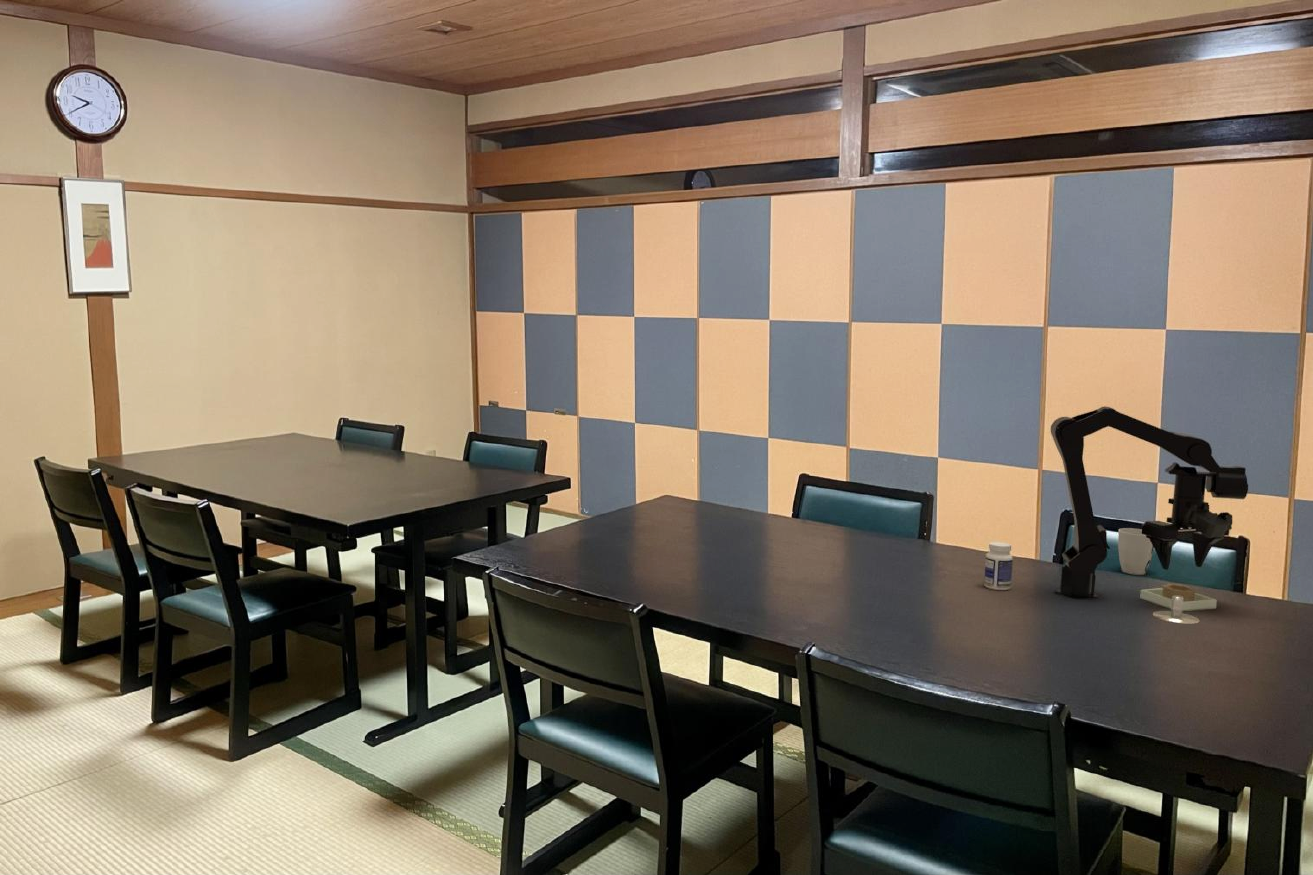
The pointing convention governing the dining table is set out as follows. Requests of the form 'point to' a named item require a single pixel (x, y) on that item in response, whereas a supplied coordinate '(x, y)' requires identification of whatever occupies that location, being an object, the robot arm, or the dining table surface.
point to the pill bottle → (998, 566)
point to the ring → (1178, 591)
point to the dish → (1197, 604)
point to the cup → (1134, 551)
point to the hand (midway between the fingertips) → (1182, 568)
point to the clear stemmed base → (1176, 613)
